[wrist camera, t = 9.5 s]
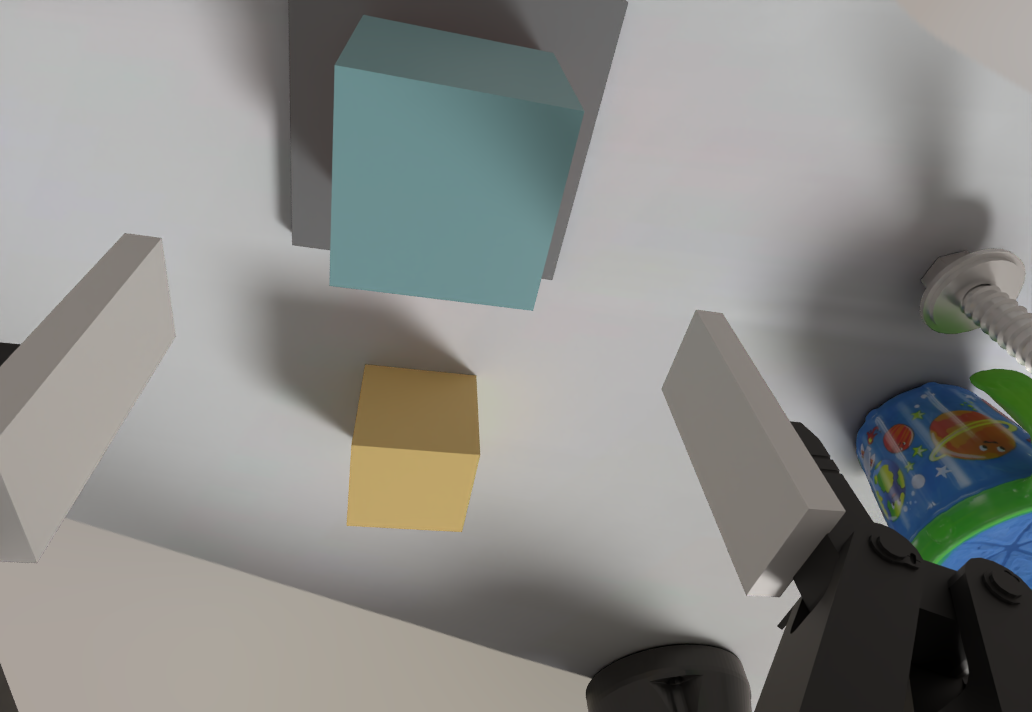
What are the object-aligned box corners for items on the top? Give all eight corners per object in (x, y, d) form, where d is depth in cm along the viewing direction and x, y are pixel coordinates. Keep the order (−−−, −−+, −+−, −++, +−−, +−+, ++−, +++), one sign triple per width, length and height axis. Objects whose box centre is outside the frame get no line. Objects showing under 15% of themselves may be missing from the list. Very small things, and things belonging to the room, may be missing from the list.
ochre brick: (460, 449, 38) (461, 531, 34) (359, 441, 37) (346, 525, 32) (476, 374, 35) (480, 455, 30) (365, 363, 34) (351, 445, 29)
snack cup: (937, 496, 45) (1042, 633, 37) (795, 506, 44) (870, 647, 36) (1053, 318, 35) (1227, 450, 27) (873, 326, 35) (999, 465, 27)
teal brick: (516, 221, 24) (533, 310, 19) (354, 197, 23) (329, 285, 18) (553, 53, 20) (584, 111, 16) (362, 14, 19) (334, 64, 14)
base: (550, 271, 31) (563, 328, 27) (295, 236, 29) (272, 293, 25) (623, -2, 24) (656, 24, 20) (292, -76, 21) (258, -63, 18)
